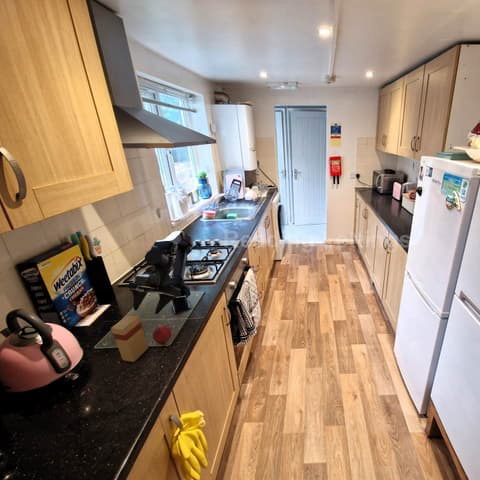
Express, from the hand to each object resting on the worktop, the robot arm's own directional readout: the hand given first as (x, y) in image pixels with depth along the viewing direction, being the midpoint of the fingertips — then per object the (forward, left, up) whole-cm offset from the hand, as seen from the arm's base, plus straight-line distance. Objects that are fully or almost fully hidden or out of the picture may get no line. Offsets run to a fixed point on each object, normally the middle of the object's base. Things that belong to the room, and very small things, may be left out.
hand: (145, 312), depth 96 cm
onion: (+5, +3, -13) cm, 14 cm away
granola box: (+5, -6, -12) cm, 15 cm away
